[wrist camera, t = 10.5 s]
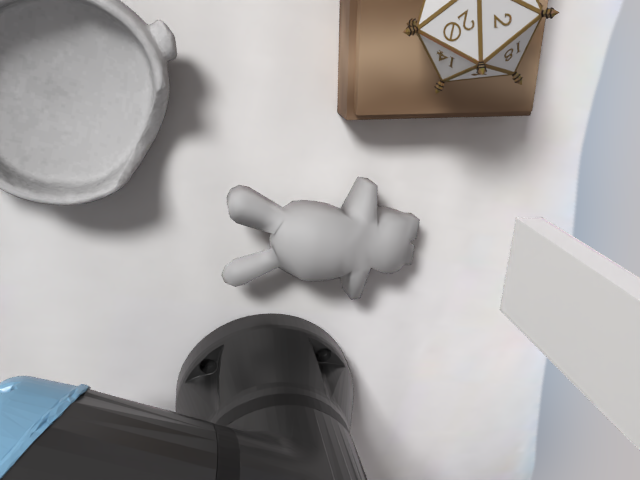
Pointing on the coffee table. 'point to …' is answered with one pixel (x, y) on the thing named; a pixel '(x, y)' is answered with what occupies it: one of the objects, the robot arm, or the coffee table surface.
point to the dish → (78, 96)
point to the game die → (477, 36)
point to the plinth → (416, 70)
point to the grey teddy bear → (323, 237)
